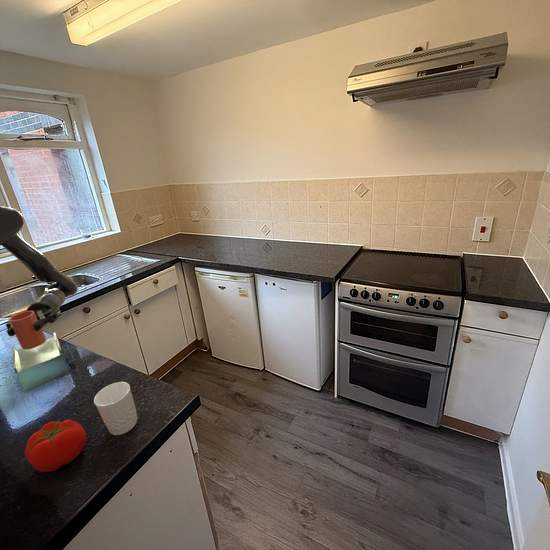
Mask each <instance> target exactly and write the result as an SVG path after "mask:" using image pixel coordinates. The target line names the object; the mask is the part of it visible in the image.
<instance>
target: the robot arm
mask: <svg viewBox="0 0 550 550" xmlns="http://www.w3.org/2000/svg"><path fill="white" fill-rule="evenodd" d="M20 212H21V211H18V210H17V209H15V208H12V207H6V206H0V246H1V247H3V248H4V249H5V250H7V251H8V253H10V254H11V255H12V256H14V257H15V258H16V259H17V260H18V261H20V263H21V264H22V265H23V266H24V267H25V268H26V269H27V270H28V271H29V272H30V273H31V274H32V275H33V276H34V277H35V279H37V280H38V281H39V282H40V283H43V284H47V283H50V284H49V285H47V286H46V287H44V290H43V293H42V294H41V295H40V296H38V297H37V298H36V299H35V300H34V301H33V302H32V303H31V304H30V305H29V306H28V307H27V309H26V311H34V313H35V315H36V317H37V319H38V321H37V322H36V323H35V324H34V328H35V330H36V331H39V330H40V329H41V328H42V329H43V328H44V326H47V325H48V324H54V323H55V322H56V321H57V320H58V319H59V318H60V317H61V316H62V315H63V314H62V312H61V310H60V308H61V307H62V305H63V304H64V303H65V300H66V298H69V297H72V296H74V295H76V294H77V293H78V290H79V289H78V285H77V283H76V282H75V281H74V280H73V279H72V278H71V277H70V276H68V275H66V274H65V273H64V272H62V271H60V270H59V269H57V268H56V266H55V265H54V264H53V263H52V261H51V260H49V259H48V257H46V256H45V255H44V253H42V252H40V251H39V250H38V249H36V248H35V247H33V246H31V245H30V244H29V243H28V242H26V241H25V240H24V239H23V238H22V237H21V236H20V235H19V234H18V233H20V231H21V230H22V229H23V227H24V222H25V221H24V216H23V215H22V213H20ZM5 327H6V329H7V330H6V333H7V335H8V336H9V337H14V336H16V335H15V333H14V331H13V329H12V327H11V325H10V323H9V321H7V322H6V323H5Z"/></svg>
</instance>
